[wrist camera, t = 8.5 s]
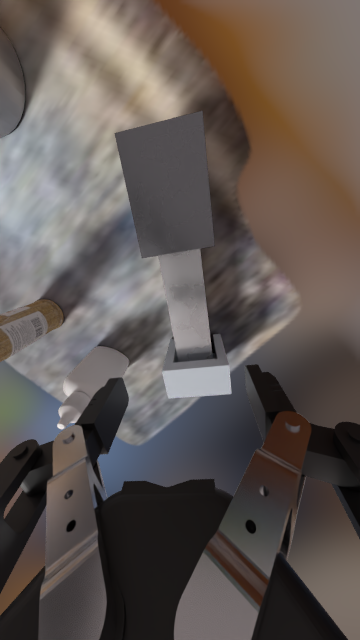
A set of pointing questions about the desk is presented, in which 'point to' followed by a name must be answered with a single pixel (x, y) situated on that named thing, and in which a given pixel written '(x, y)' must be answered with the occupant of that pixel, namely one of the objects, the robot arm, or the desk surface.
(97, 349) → the eye dropper bottle
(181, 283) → the grey square post
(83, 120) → the desk surface
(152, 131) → the sleeve
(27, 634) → the robot arm
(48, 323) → the sprinkles bottle
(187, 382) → the socket block
